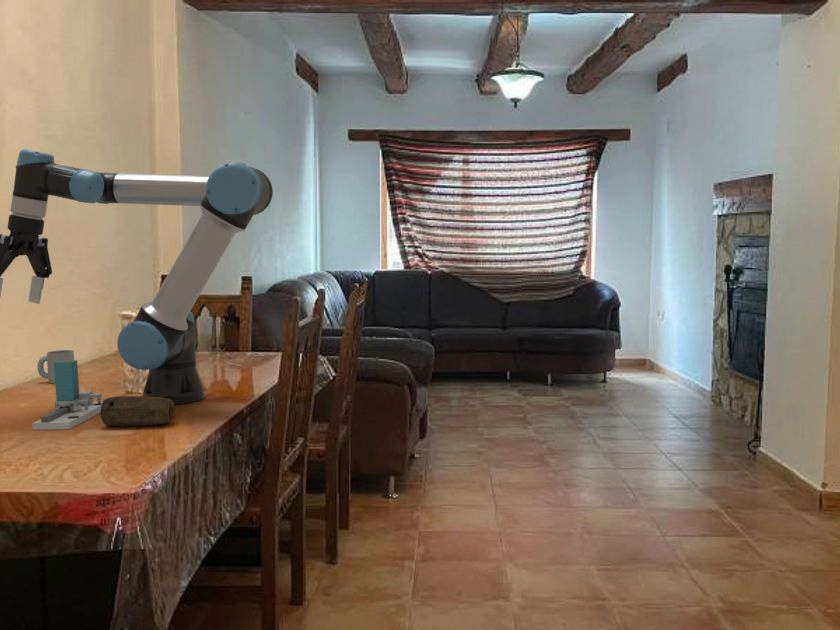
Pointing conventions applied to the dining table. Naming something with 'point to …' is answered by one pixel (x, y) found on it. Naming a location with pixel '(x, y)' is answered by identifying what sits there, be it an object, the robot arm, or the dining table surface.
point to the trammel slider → (68, 385)
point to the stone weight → (137, 411)
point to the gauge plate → (70, 414)
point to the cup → (50, 359)
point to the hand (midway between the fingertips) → (14, 303)
